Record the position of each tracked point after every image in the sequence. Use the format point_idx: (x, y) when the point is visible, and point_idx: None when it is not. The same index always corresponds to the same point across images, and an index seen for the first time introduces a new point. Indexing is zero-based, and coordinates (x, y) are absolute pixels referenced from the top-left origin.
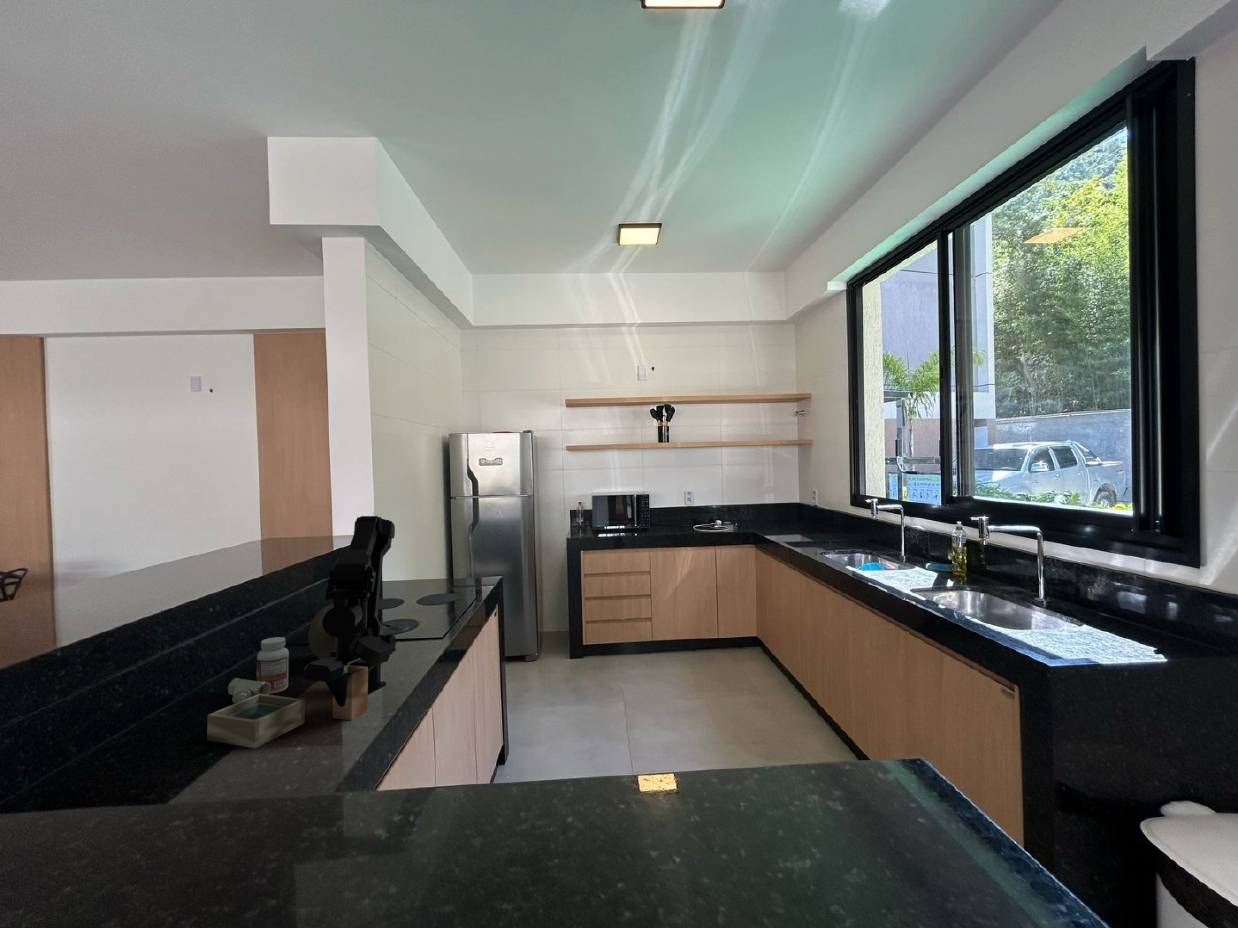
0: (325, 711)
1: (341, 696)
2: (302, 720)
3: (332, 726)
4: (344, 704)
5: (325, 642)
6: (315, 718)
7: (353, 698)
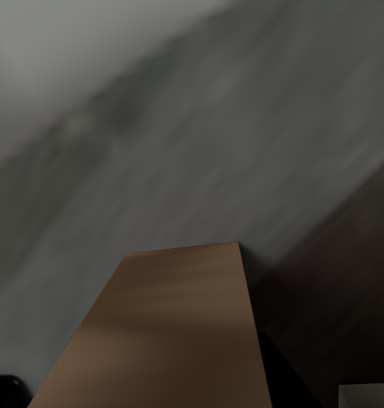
0: None
1: (316, 401)
2: (358, 399)
3: (330, 265)
4: None
5: None
6: None
7: (235, 322)
